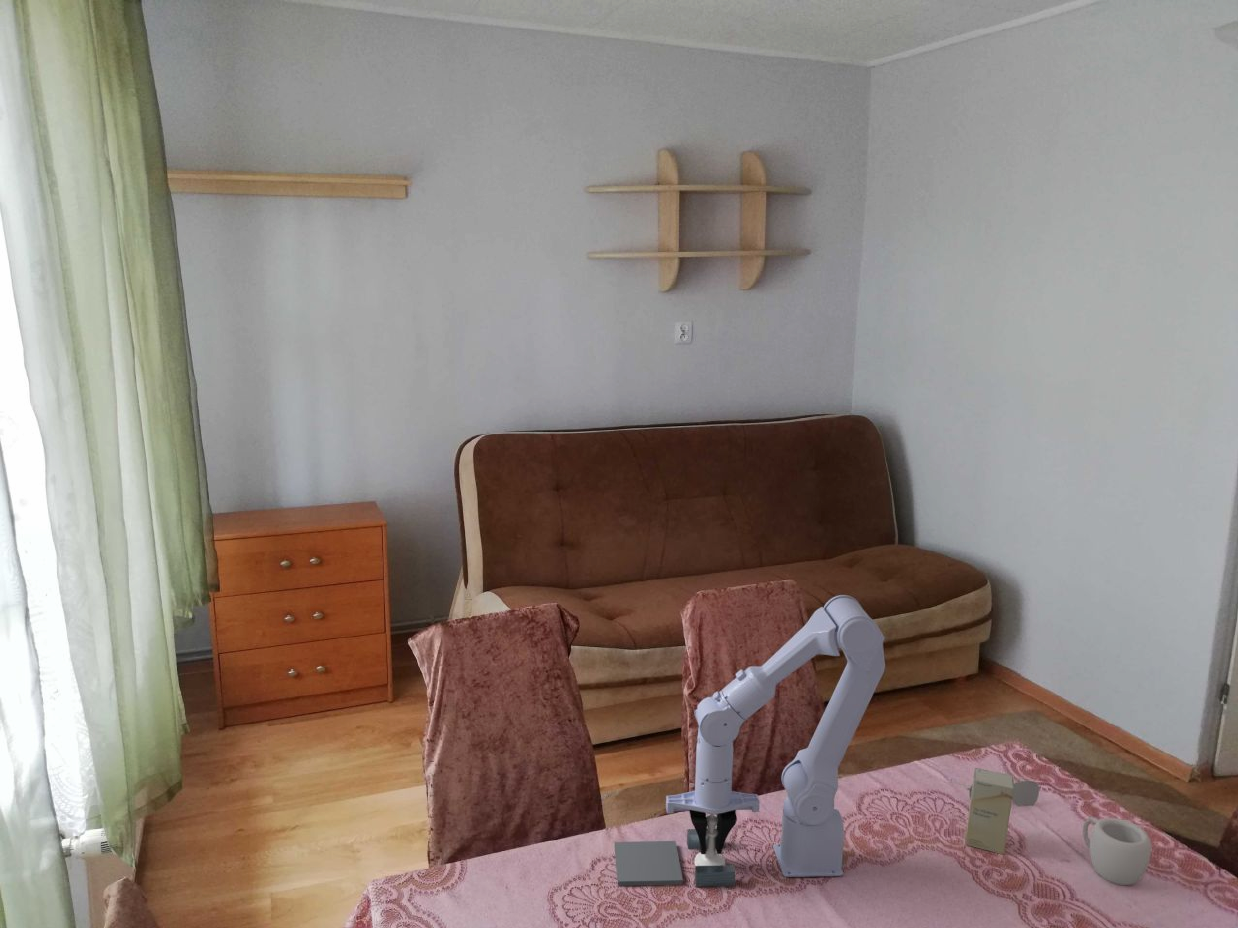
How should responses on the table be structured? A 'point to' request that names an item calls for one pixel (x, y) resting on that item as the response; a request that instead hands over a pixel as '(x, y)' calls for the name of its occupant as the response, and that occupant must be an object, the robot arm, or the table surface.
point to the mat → (647, 863)
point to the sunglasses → (1020, 792)
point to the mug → (1118, 849)
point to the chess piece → (710, 846)
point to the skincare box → (989, 810)
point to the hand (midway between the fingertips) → (710, 850)
